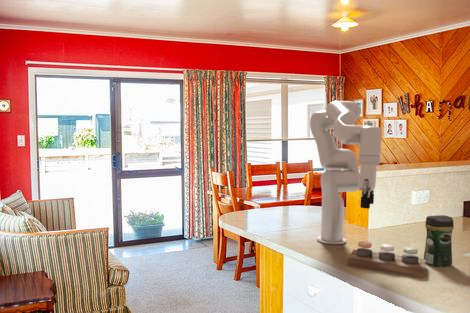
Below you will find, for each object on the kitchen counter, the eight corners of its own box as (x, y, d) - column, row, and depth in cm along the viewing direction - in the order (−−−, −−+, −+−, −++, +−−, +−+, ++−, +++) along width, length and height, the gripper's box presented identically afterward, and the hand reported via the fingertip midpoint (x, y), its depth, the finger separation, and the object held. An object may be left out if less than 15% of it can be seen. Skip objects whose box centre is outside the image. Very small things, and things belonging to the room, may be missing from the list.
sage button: (403, 249, 163) (404, 246, 163) (417, 251, 161) (418, 248, 161) (402, 253, 158) (402, 249, 158) (417, 255, 156) (417, 251, 156)
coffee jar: (441, 259, 173) (444, 213, 171) (455, 266, 165) (458, 217, 164) (419, 261, 171) (422, 213, 169) (432, 267, 163) (435, 218, 162)
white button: (381, 246, 166) (381, 243, 166) (394, 248, 164) (394, 245, 164) (379, 249, 162) (379, 246, 162) (393, 251, 160) (393, 248, 160)
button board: (353, 256, 174) (353, 244, 174) (425, 267, 163) (425, 254, 163) (347, 265, 164) (348, 252, 163) (423, 277, 153) (424, 263, 152)
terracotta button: (359, 243, 170) (359, 240, 169) (372, 245, 167) (372, 242, 167) (357, 246, 165) (357, 243, 165) (370, 248, 163) (370, 245, 163)
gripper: (362, 157, 173) (360, 200, 174) (354, 161, 157) (352, 208, 159) (382, 158, 170) (380, 202, 171) (376, 162, 154) (374, 211, 155)
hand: (367, 205), depth 165 cm, fingers open, 9 cm apart
